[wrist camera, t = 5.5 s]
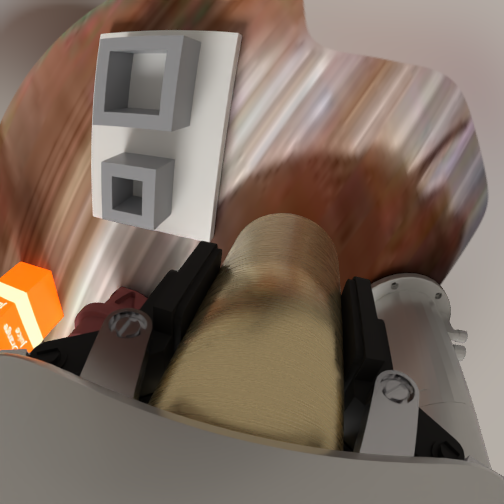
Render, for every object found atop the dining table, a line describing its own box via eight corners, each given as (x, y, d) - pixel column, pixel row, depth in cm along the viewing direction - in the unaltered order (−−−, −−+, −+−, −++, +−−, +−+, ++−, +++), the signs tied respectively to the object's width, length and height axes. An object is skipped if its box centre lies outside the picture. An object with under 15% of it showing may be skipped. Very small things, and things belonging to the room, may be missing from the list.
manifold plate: (242, 35, 24) (226, 24, 19) (213, 236, 33) (196, 262, 29) (109, 35, 25) (75, 31, 20) (100, 211, 35) (72, 231, 30)
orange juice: (51, 270, 41) (-38, 356, 24) (64, 316, 45) (-8, 402, 28) (20, 260, 42) (-64, 334, 25) (33, 304, 46) (-37, 379, 29)
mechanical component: (95, 275, 39) (156, 266, 37) (126, 334, 43) (186, 332, 41) (40, 333, 29) (101, 334, 26) (84, 396, 33) (148, 406, 30)
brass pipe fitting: (351, 228, 12) (382, 499, 3) (321, 316, 14) (300, 545, 5) (240, 202, 12) (90, 430, 4) (226, 294, 15) (132, 504, 6)
